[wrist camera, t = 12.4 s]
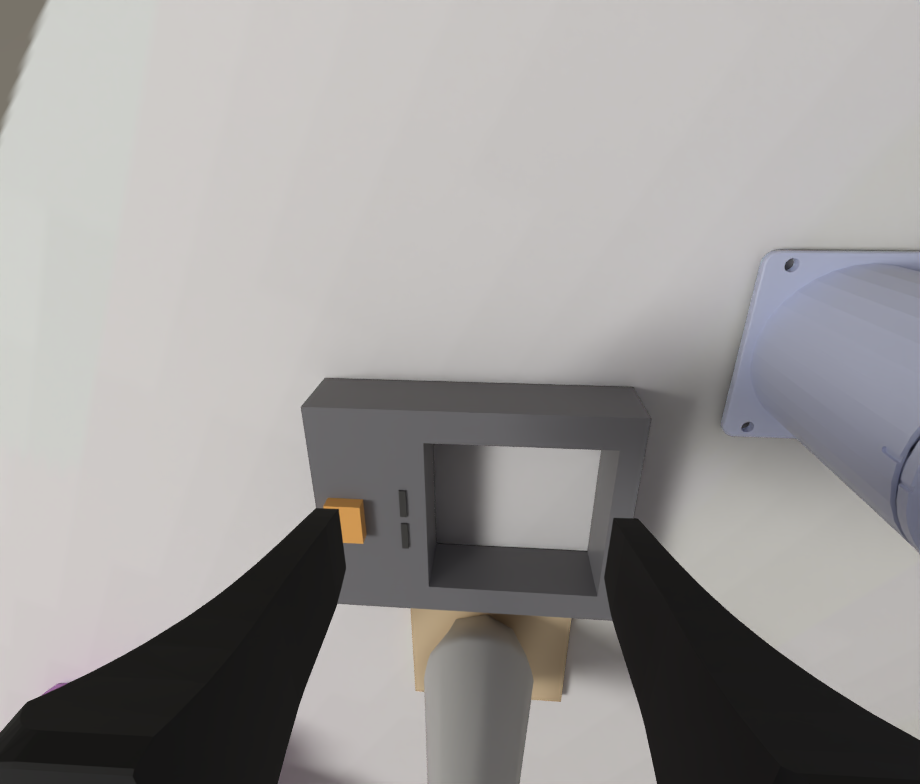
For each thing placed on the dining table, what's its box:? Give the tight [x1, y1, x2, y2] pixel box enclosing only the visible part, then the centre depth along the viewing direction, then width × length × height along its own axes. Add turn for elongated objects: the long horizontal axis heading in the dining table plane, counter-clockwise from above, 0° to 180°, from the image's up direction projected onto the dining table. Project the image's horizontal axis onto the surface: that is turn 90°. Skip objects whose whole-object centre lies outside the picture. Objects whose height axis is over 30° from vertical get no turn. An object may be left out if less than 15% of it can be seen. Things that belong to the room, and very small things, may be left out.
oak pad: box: [411, 608, 571, 702], centre depth 29 cm, size 9×9×1 cm
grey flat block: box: [301, 378, 651, 621], centre depth 23 cm, size 14×11×4 cm
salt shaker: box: [424, 614, 534, 784], centre depth 23 cm, size 6×6×13 cm
